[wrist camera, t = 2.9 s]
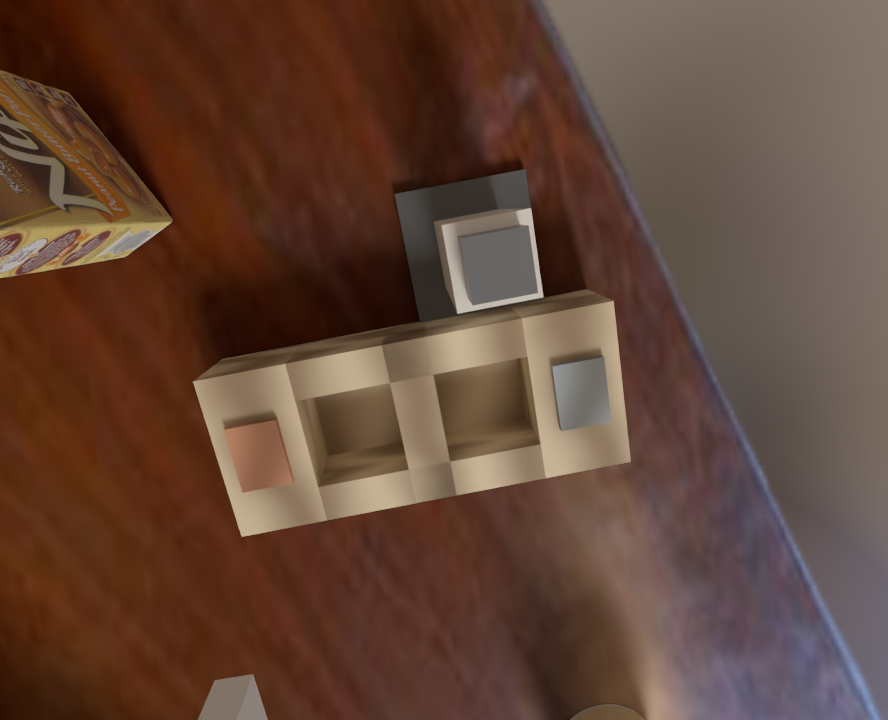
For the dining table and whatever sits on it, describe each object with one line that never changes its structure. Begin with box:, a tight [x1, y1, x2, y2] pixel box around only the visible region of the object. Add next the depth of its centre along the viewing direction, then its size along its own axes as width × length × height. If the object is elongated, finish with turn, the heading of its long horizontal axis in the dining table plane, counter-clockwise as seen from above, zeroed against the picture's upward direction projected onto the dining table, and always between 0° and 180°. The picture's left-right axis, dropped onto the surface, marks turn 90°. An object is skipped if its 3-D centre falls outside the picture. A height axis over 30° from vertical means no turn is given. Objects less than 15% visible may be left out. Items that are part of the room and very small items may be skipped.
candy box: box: [0, 70, 172, 278], centre depth 26 cm, size 9×4×15 cm, turn 36°
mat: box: [395, 169, 544, 323], centre depth 35 cm, size 8×8×1 cm
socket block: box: [193, 289, 631, 537], centre depth 35 cm, size 24×10×5 cm, turn 100°
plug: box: [434, 208, 543, 314], centre depth 29 cm, size 4×4×12 cm
